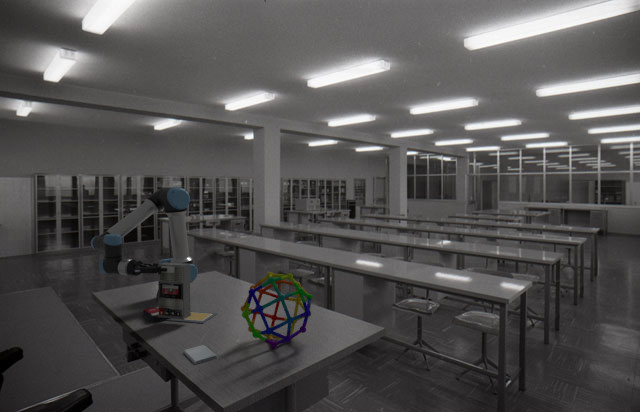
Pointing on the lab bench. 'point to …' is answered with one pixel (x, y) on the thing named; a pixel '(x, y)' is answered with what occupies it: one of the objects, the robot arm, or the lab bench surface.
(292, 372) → the lab bench surface
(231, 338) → the lab bench surface
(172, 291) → the grey instrument box
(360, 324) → the lab bench surface
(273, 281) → the geometric model
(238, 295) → the lab bench surface
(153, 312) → the calculator
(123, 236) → the robot arm
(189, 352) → the hard drive
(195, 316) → the picture board
